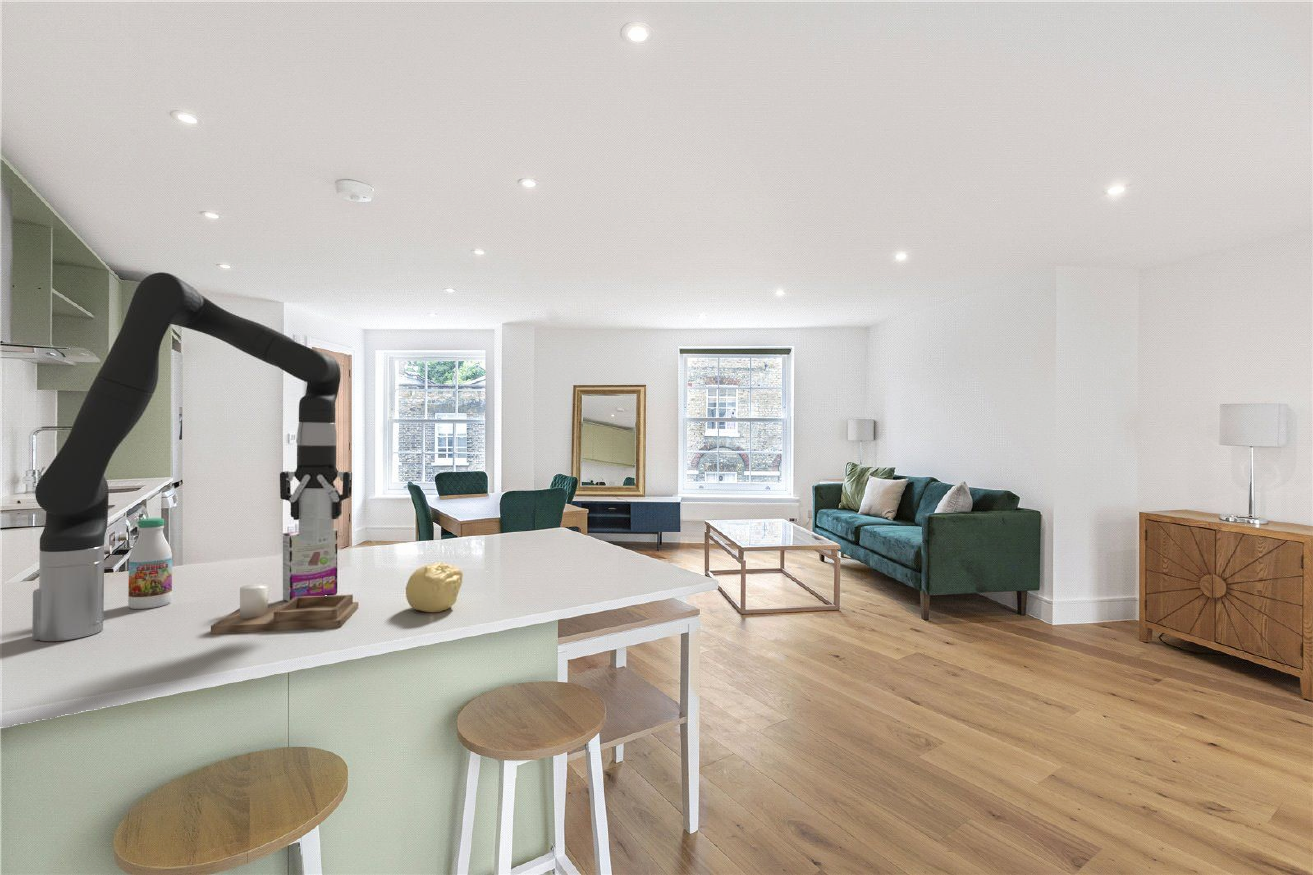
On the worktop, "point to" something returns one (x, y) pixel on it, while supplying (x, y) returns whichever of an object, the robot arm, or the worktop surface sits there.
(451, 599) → the sculpture
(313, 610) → the walnut organizer
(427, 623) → the worktop surface
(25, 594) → the worktop surface
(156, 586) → the milk bottle
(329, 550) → the candy bar box
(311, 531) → the skincare box
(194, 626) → the worktop surface
